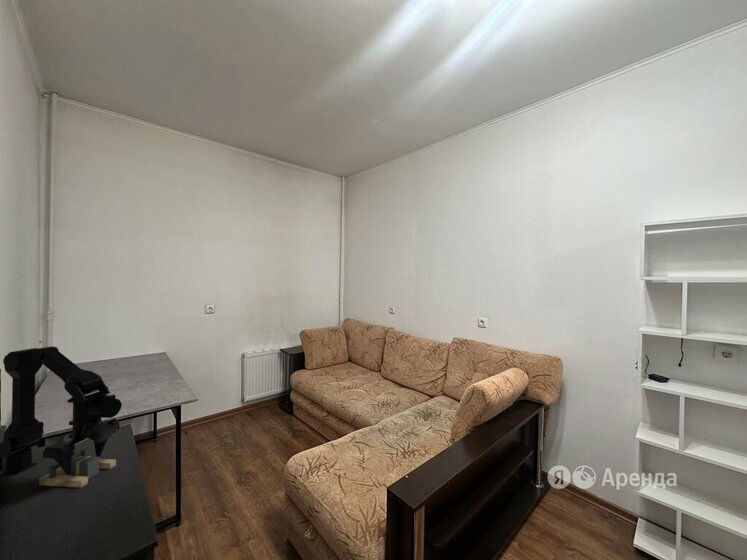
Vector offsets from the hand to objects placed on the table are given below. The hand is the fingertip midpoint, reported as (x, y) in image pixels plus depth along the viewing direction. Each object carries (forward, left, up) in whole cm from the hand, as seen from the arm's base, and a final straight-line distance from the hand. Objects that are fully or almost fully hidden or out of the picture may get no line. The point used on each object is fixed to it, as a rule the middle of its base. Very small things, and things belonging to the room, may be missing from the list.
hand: (84, 464), depth 95 cm
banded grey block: (0, 0, -3) cm, 3 cm away
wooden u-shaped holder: (-1, 0, -3) cm, 4 cm away
